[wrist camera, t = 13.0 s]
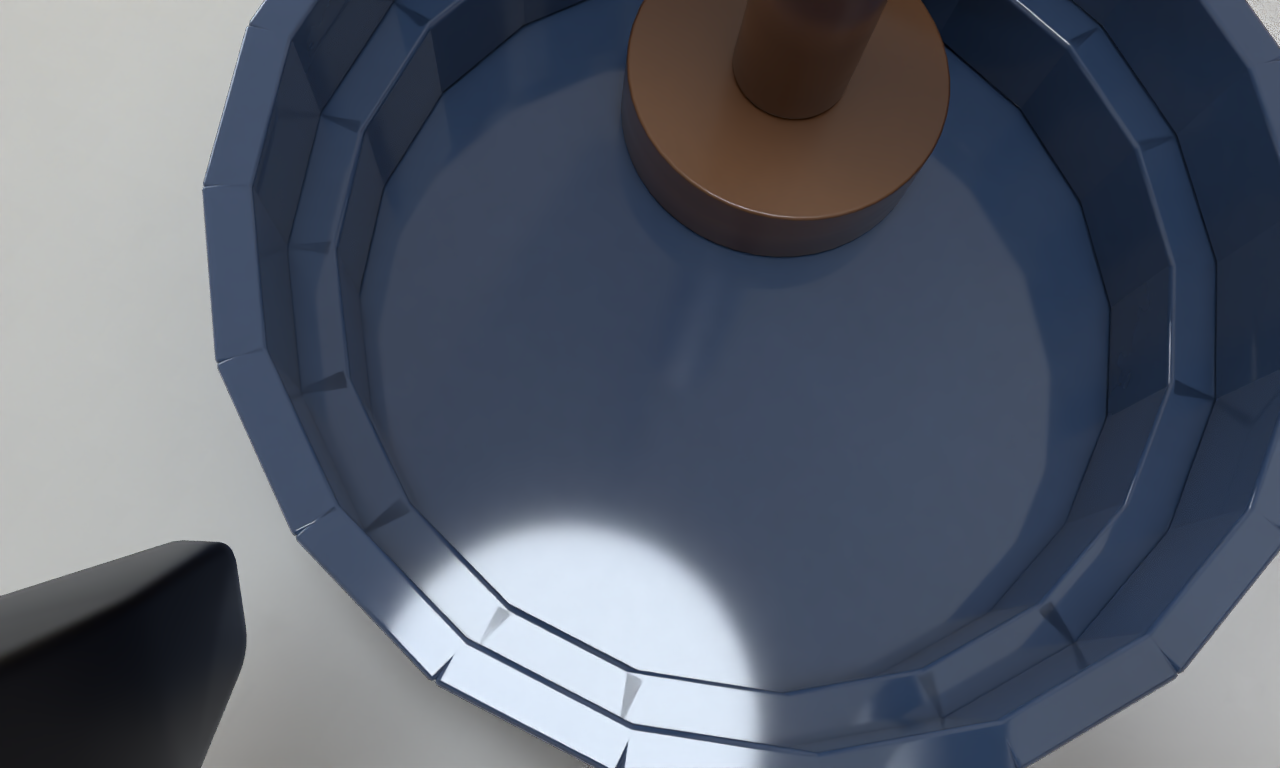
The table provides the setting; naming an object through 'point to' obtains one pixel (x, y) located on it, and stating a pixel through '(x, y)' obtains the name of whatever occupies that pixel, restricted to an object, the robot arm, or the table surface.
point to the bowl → (763, 381)
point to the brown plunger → (782, 115)
